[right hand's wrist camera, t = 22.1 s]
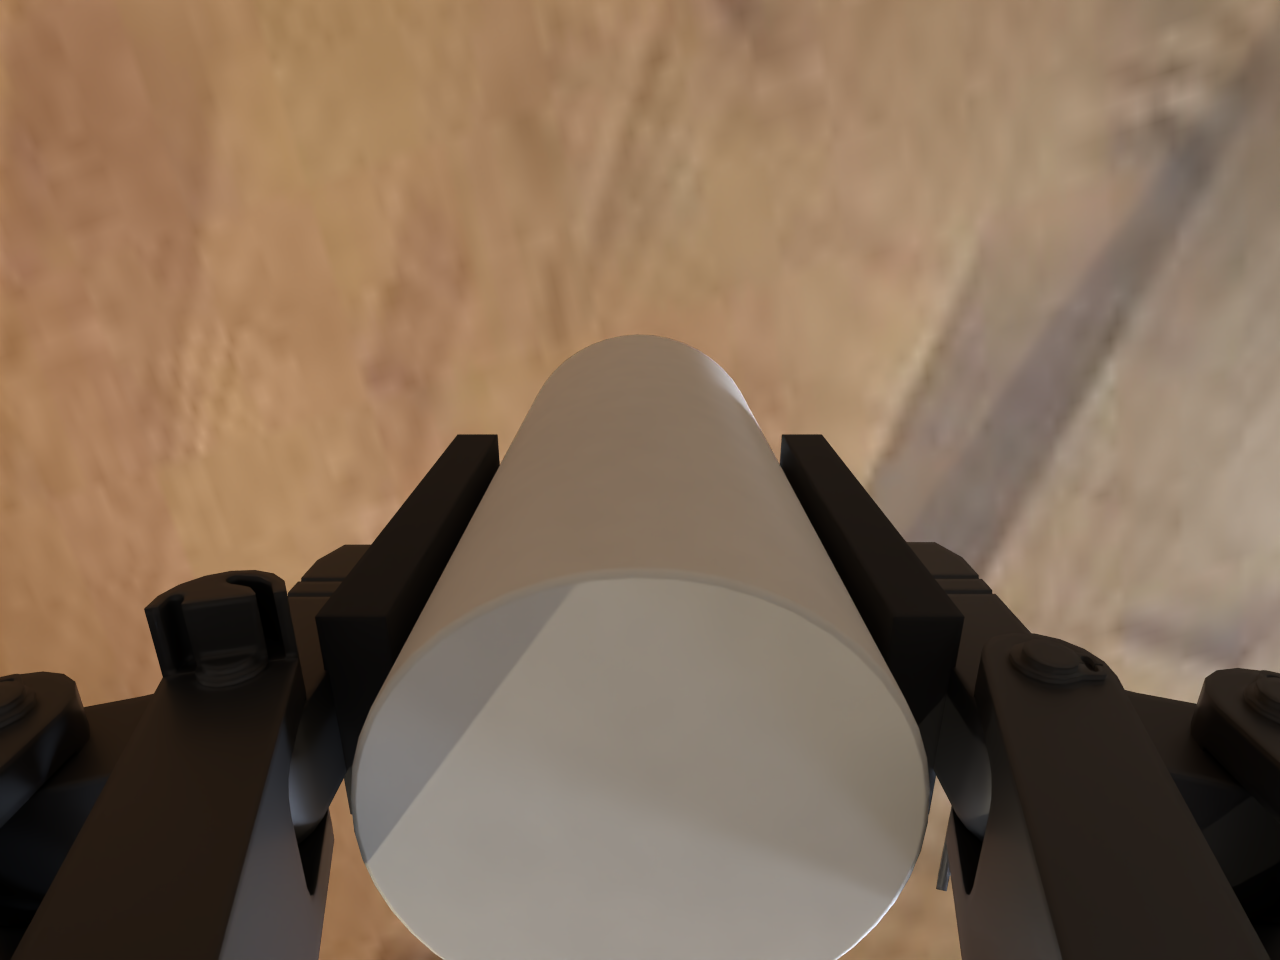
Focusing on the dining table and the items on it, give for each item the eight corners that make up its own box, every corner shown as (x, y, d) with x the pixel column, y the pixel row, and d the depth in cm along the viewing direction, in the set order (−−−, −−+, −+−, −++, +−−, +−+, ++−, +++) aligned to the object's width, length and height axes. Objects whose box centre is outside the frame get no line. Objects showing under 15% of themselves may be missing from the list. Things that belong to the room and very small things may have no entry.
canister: (480, 411, 17) (222, 749, 6) (681, 287, 16) (762, 449, 5) (603, 586, 19) (557, 1084, 8) (793, 484, 18) (1020, 900, 7)
